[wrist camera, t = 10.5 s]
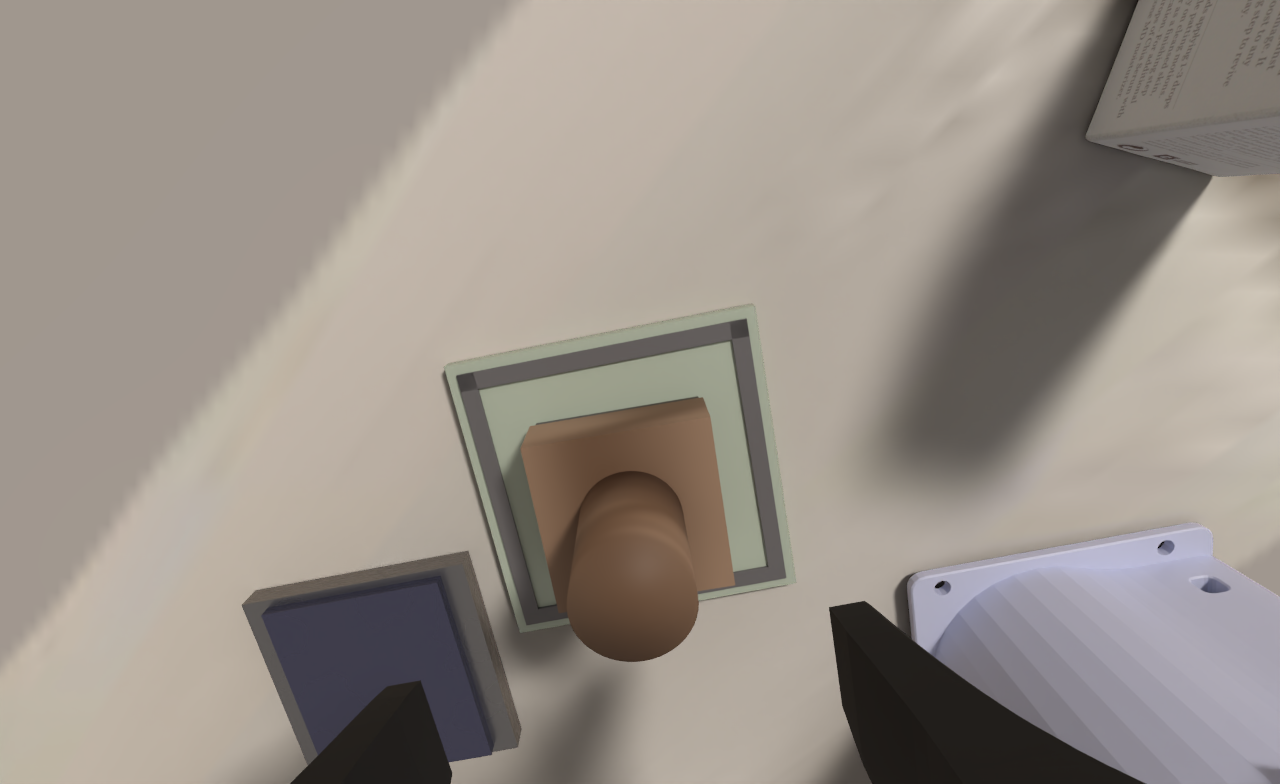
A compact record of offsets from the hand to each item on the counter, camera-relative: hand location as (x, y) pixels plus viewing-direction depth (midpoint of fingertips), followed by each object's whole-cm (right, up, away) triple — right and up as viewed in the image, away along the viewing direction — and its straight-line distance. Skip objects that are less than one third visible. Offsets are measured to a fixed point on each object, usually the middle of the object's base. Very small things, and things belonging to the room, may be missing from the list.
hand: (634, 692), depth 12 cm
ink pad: (-8, -4, +11) cm, 14 cm away
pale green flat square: (0, +3, +9) cm, 9 cm away
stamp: (0, +2, +9) cm, 9 cm away
